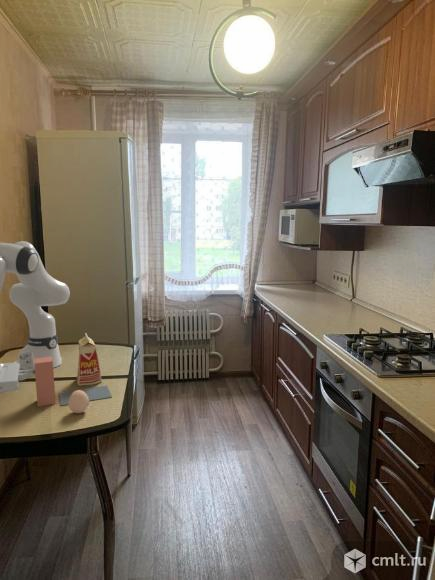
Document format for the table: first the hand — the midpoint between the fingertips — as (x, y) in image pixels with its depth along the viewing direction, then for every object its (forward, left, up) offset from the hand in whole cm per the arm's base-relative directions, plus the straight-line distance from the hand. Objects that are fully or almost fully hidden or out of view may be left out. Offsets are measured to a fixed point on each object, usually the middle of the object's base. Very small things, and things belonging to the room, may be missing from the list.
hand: (33, 373), depth 147 cm
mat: (+11, +13, -11) cm, 21 cm away
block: (+3, +3, -11) cm, 12 cm away
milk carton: (+3, +25, -12) cm, 27 cm away
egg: (+20, +1, -12) cm, 23 cm away
